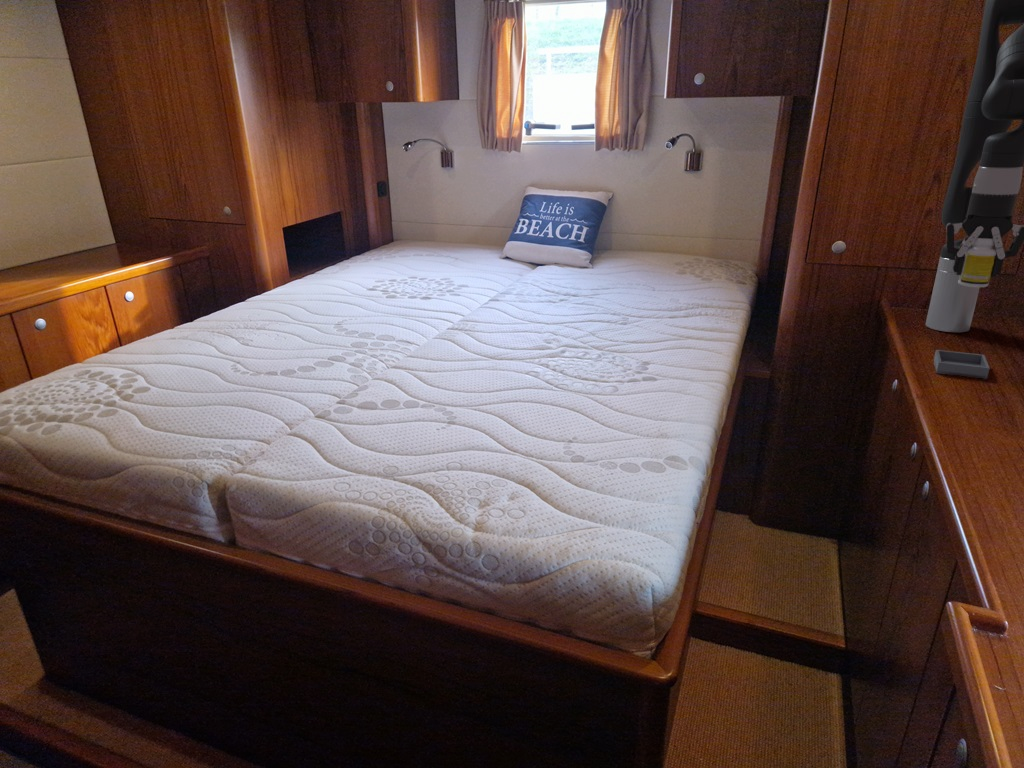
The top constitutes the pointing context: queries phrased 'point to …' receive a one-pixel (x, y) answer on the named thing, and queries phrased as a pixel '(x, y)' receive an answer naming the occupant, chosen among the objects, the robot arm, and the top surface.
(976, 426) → the top surface
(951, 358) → the tray
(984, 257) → the supplement bottle
